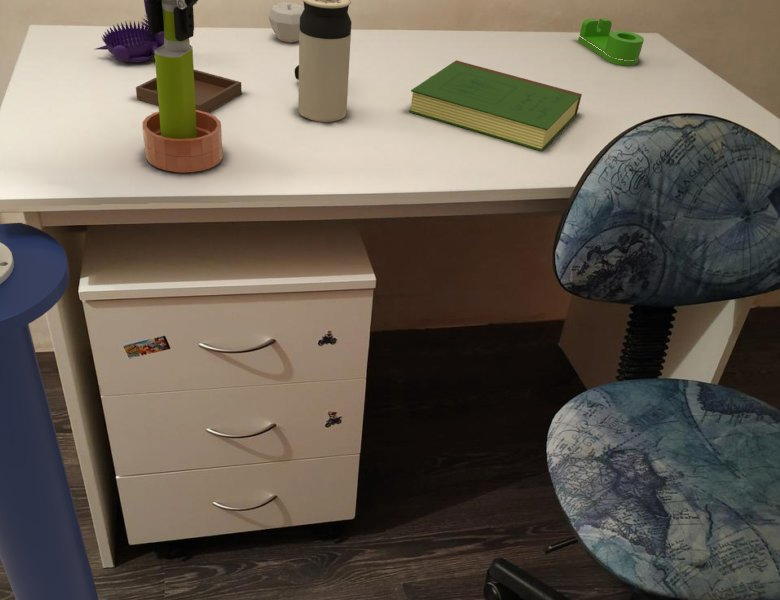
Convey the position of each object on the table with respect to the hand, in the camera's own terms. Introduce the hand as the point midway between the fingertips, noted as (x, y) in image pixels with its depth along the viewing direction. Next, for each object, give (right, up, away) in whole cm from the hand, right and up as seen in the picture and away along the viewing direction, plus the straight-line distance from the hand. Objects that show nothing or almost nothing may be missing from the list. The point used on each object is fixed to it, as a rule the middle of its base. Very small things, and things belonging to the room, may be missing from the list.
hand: (171, 33), depth 105 cm
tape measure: (+16, +7, +37) cm, 41 cm away
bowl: (-1, -13, +12) cm, 17 cm away
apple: (+9, +22, +54) cm, 59 cm away
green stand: (+75, +25, +66) cm, 103 cm away
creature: (-15, +13, +40) cm, 44 cm away
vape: (-1, -11, +9) cm, 15 cm away
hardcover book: (+46, +2, +35) cm, 58 cm away
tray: (-5, +2, +28) cm, 29 cm away
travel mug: (+17, -1, +28) cm, 33 cm away
